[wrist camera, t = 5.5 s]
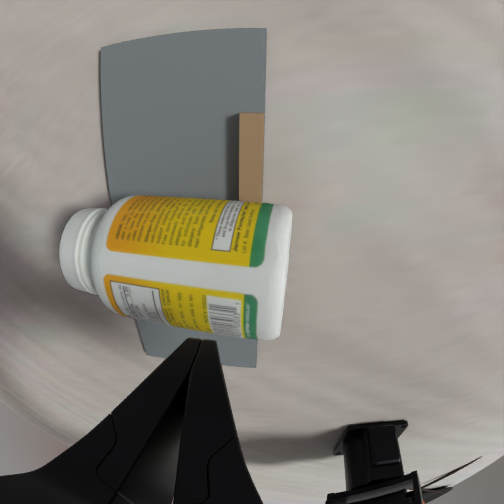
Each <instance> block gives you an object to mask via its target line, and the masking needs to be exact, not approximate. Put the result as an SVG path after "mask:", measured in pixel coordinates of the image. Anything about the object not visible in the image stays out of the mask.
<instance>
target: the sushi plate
mask: <svg viewBox="0 0 504 504" xmlns="http://www.w3.org/2000/svg"><path fill="white" fill-rule="evenodd" d="M481 457H482V456H481ZM481 457H480V458H481ZM478 459H479V458H478ZM478 459H476V460H478ZM476 460H474V461H476ZM474 461H472V462H470V463H468V464H466V465H464V466H462V467H460V468H457V469H455V470H453V471H452V472H450V473H448V474H446V475H444V476H442V477H441V478H439V479H437V480H435V481H433V482H431V483H429V484H427V485H425V486H422V487H421V491H426V492H422V498H423V504H425V503H428V502H430V501H432V500H434V499H436V498H438V497H440V496H441V495H443V494H445V493H447V492H449V491H450V490H451V489H452V487H448V488H443V489H437V490H426V489H422V488H425V487H427V486H429V485H431V484H433V483H435V482H437V481H439V480H441V479H443V478H445V477H447V476H449V475H451V474H453V473H455V472H457V471H459V470H460V469H462V468H464V467H466V466H468V465H469V464H471V463H473V462H474ZM409 490H414V489H413V488H410V489H409Z"/></svg>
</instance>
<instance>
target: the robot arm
mask: <svg viewBox="0 0 504 504" xmlns="http://www.w3.org/2000/svg"><path fill="white" fill-rule="evenodd" d="M407 426H408V422H407V421H399V422H390V423H381V424H370V425H356V426H349V427H347V429H346V430H345V432H344V434H343V436H342V437H341V439H340V441H339V442H338V444H337V446H336V447H335V449H334V455H344V465H345V479H346V491H344V492H339V493H330V494H328V495H327V501H326V503H325V504H423V498H422V492H421V486H420V481H419V477H418V474H417V470H416V471H413V472H411V473H410V474H407V475H404V471H403V465H402V459H401V454H400V449H399V444H398V437H399V436H400V435H401V434H402V433H403V431H404V430H405V429H406V428H407ZM410 488H413V489H414V490H413V491H410V492H407V489H410ZM173 496H174V500H173ZM172 500H173V504H263V502H262V500H261V498H260V496H259V494H258V492H257V490H256V487H255V485H254V483H253V481H252V478H251V476H250V474H249V471H248V469H247V466H246V463H245V460H244V457H243V453H242V450H241V446H240V442H239V438H238V435H237V431H236V427H235V422H234V418H233V414H232V410H231V405H230V401H229V397H228V392H227V388H226V383H225V379H224V374H223V370H222V365H221V360H220V355H219V351H218V346H217V342H216V340H211V339H203V340H202V339H200V338H191V337H189V338H187V339H186V340H185V341H184V342H183V343H181V344H180V345H179V346H178V347H177V348H176V349H175V350H174V351H173V352H172V353H171V354H170V355H169V356H168V357H167V358H166V359H165V360H164V361H163V362H162V363H161V364H160V365H159V366H158V367H157V368H156V369H155V370H154V371H153V372H152V373H151V374H150V375H149V376H148V377H147V378H146V379H145V380H144V381H143V382H142V383H141V384H140V385H139V386H138V387H137V388H136V389H135V390H134V391H133V392H132V393H131V394H130V395H128V396H127V397H126V398H125V399H124V400H123V401H122V402H121V403H120V404H119V405H118V406H117V407H116V408H115V409H114V410H113V411H112V412H111V414H109V415H108V416H107V417H106V418H105V419H103V420H102V421H101V422H100V423H99V424H98V425H97V426H96V427H95V428H94V429H93V430H91V431H90V432H89V433H88V434H87V435H85V436H84V437H83V438H82V439H80V440H79V441H78V442H76V443H75V444H74V445H72V446H71V447H70V448H68V449H67V450H66V451H64V452H63V453H61V454H60V455H59V456H57V457H56V458H54V459H53V460H52V461H50V462H49V463H47V464H46V465H44V466H43V467H41V468H39V469H37V470H34V471H31V472H27V473H21V474H14V475H6V476H0V504H172Z"/></svg>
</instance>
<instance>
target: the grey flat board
mask: <svg viewBox="0 0 504 504" xmlns="http://www.w3.org/2000/svg"><path fill="white" fill-rule="evenodd" d="M266 31H267V30H266V28H234V29H213V30H200V31H190V32H181V33H173V34H165V35H159V36H153V37H147V38H141V39H136V40H131V41H126V42H122V43H117V44H113V45H109V46H105V47H101V107H102V125H103V138H104V149H105V159H106V168H107V177H108V185H109V192H110V199H111V205H113V204H115V203H116V202H117V201H119V200H121V199H123V198H125V197H128V196H136V195H145V196H166V197H186V198H200V199H216V200H232V201H245V202H257V203H262V193H263V160H264V122H265V80H266ZM136 321H137V325H138V328H139V331H140V335H141V338H142V342H143V345H144V348H145V351H146V355H149V356H156V357H162V358H167V357H168V356H169V355H170V354H171V353H172V352H173V351H174V350H175V349H176V348H177V347H178V346H179V345H180V344H181V343H183V342H184V341H185V340H186V339H187V338H189V337H191V338H200V339H202V340H203V339H211V340H216V342H217V346H218V351H219V355H220V360H221V365H226V366H237V367H250V368H256V359H257V339H248V338H240V337H233V336H226V335H219V334H214V333H208V332H202V331H196V330H191V329H185V328H179V327H174V326H169V325H163V324H158V323H154V322H149V321H144V320H139V319H136Z"/></svg>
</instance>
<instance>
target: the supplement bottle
mask: <svg viewBox="0 0 504 504" xmlns="http://www.w3.org/2000/svg"><path fill="white" fill-rule="evenodd" d="M291 229H292V211H291V210H290V209H289V208H288V207H286V206H284V205H278V204H270V203H257V202H245V201H232V200H216V199H200V198H186V197H166V196H145V195H136V196H128V197H125V198H123V199H121V200H119V201H117V202H116V203H115V204H113V205H112V206H111V207H110V208H109V209H106V208H86V209H82V210H80V211H78V212H76V213H75V214H74V215H73V216H72V217H71V218H70V220H69V221H68V223H67V224H66V226H65V229H64V231H63V234H62V237H61V242H60V251H59V258H60V265H61V269H62V272H63V275H64V277H65V279H66V281H67V282H68V283H69V284H70V285H71V286H72V287H73V288H75V289H77V290H80V291H84V292H88V293H91V294H95V295H99V297H100V299H101V300H102V302H103V303H104V304H105V305H106V306H107V307H108V308H109V309H110V310H111V311H113V312H115V313H116V314H119V315H122V316H126V317H130V318H134V319H139V320H144V321H149V322H154V323H158V324H163V325H169V326H174V327H179V328H185V329H191V330H196V331H202V332H208V333H214V334H219V335H226V336H233V337H240V338H248V339H258V340H266V341H267V340H274V339H276V338H277V337H278V336H279V335H280V331H281V324H282V316H283V307H284V295H285V289H286V281H287V273H288V262H289V248H290V239H291Z"/></svg>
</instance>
